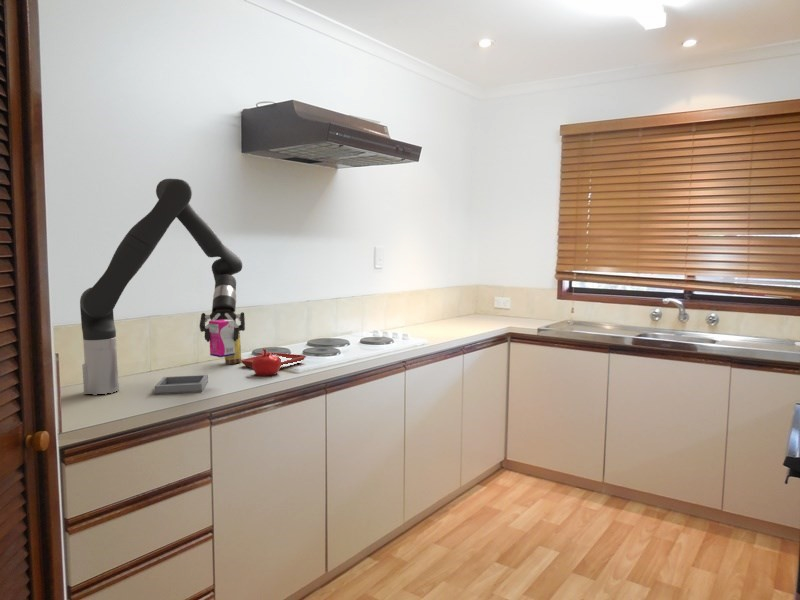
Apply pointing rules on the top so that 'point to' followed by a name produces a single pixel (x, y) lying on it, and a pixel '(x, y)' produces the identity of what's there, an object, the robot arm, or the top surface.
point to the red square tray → (294, 357)
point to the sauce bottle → (237, 357)
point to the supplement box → (221, 338)
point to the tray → (181, 384)
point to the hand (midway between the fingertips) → (221, 340)
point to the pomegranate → (266, 364)
